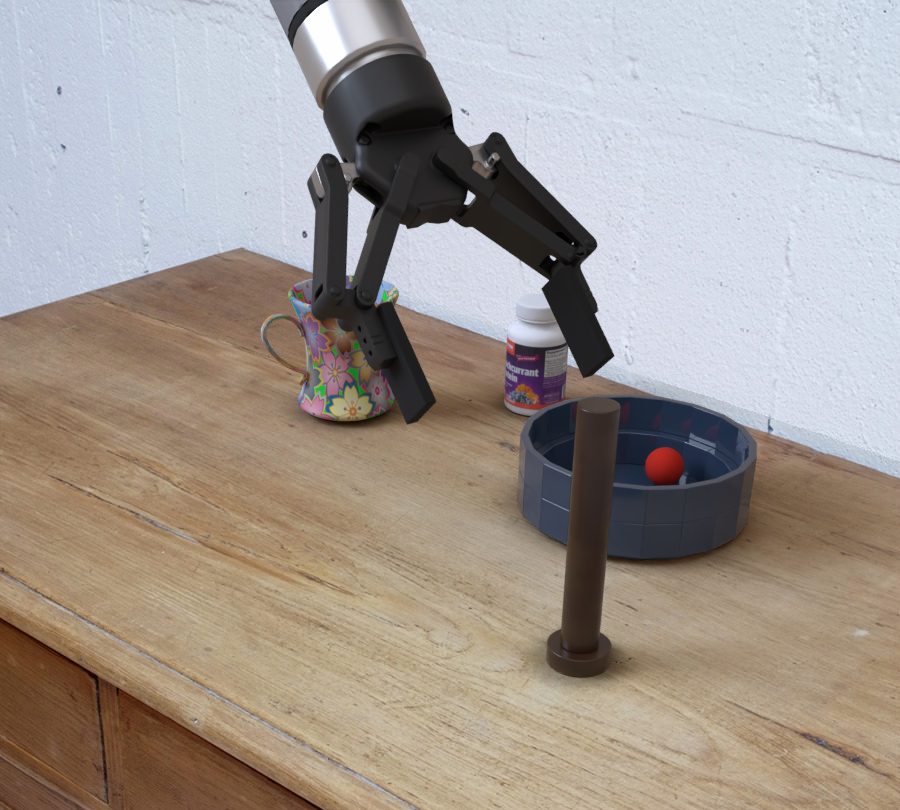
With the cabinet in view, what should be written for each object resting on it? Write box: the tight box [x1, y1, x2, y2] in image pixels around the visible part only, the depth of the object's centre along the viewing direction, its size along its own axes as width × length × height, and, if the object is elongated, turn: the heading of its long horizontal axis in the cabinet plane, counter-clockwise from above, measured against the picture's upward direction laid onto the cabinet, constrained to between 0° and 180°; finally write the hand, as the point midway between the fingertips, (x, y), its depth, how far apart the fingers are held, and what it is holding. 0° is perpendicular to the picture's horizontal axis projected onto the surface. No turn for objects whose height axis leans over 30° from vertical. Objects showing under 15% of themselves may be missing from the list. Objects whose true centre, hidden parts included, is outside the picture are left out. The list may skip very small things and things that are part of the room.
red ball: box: [645, 447, 684, 486], centre depth 102 cm, size 3×3×3 cm
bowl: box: [516, 393, 758, 561], centre depth 98 cm, size 17×17×6 cm
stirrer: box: [545, 397, 620, 678], centre depth 78 cm, size 4×4×17 cm
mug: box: [260, 274, 400, 422], centre depth 113 cm, size 12×9×11 cm
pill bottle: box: [503, 292, 569, 417], centre depth 115 cm, size 5×5×10 cm
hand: (514, 390), depth 79 cm, fingers open, 13 cm apart
